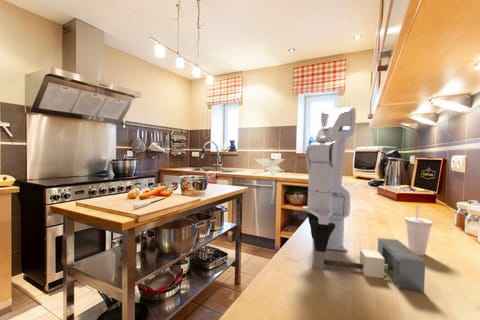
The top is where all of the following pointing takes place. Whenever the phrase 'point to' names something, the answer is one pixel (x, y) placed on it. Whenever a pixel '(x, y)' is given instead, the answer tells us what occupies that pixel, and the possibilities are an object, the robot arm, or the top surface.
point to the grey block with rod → (368, 263)
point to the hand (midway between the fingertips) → (318, 244)
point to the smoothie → (418, 233)
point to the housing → (403, 264)
